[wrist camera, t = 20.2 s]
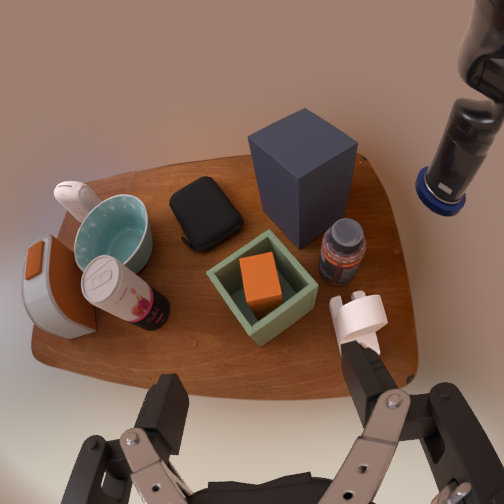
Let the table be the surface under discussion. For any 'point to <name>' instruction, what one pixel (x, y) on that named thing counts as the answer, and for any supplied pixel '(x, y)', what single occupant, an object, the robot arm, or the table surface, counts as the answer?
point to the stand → (303, 174)
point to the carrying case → (205, 214)
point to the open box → (291, 281)
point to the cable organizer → (358, 319)
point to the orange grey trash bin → (55, 290)
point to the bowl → (116, 233)
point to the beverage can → (123, 293)
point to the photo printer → (77, 198)
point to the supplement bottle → (342, 252)
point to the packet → (261, 284)
